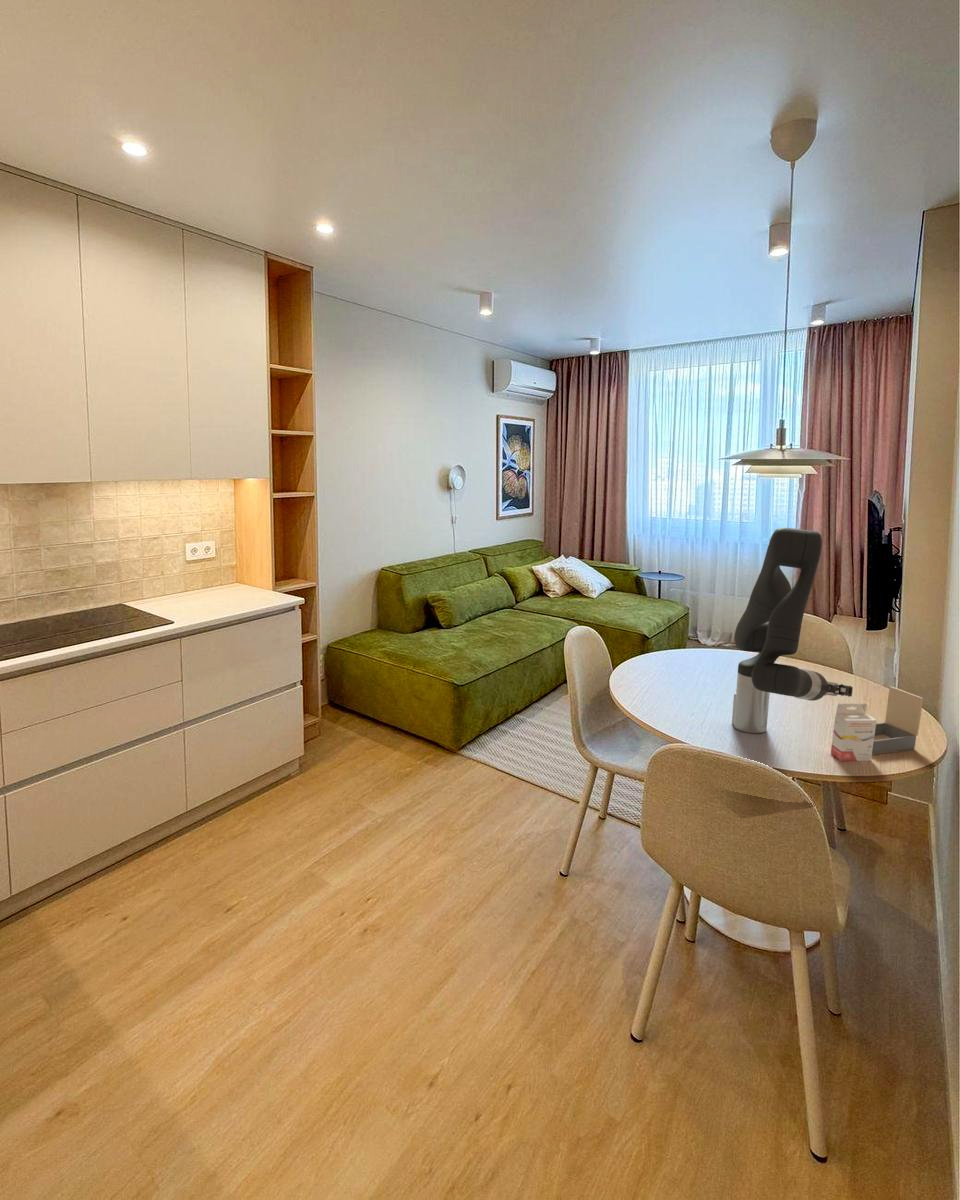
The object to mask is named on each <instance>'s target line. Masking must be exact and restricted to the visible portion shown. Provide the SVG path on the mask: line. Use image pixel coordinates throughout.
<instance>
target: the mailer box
mask: <svg viewBox="0 0 960 1200" xmlns="http://www.w3.org/2000/svg"><path fill="white" fill-rule="evenodd" d="M923 702H924V697H921V696H918V695H916V694H913V693H911V692H908V691H904V690H903V689H900V688H898V687H894V686H889V689H888V697H887V704H886V705H887V706H886V713H885V722H876V728H875V735H874V742H873V749H872V755H873V756H875V755H876V756H877V755H884V754H891V753H899V752H904V751H912V750H913V751H914V750H915V747H916V741H917V740H916V739H917V737H918V736H919V730H920V726H921V725H920V723H921V719H922V718H921V717H922V708H923Z"/></svg>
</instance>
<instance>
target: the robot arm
mask: <svg viewBox="0 0 960 1200" xmlns="http://www.w3.org/2000/svg"><path fill="white" fill-rule="evenodd" d="M822 547H823V539H822V535H821V533H820V532H818V531H815V530H809V529H800V528H791V527H778V528H776V529H775V530H774V531H773V533H772V534H771V537H770V539H769V542H768V546H767V549H766V552H765V556H764V559H763V560H764V561H763V563H762V567H761V569H760V572H759V574H758V576H757V580H756V582H755V584H754V586H753V588H752V591H751V594H750V597H749V600H748V602H747V606H746V609H745V610H744V612H743V614H742V615H741V617H740V619H739V621H738V623H737V625H736V628H735V631H734V637H733V638H734V644H735V647H736V648H737V649H738V650H739V651H742V652H750V653H751V652H753V653H756V652H757V654H756V655H755V656H752V657H750V658H746V659H743V660H741V661H740V662H739V663H738V666H737V675H736V676H737V679H736V689H735V693H734V694H733V703H732V705H733V706H732V715H731V716H732V717H731V724H733V727H734V728H735V729H736V730H738V731H741V732H744V733H748V734H762V733H763V734H764V733H766V732H767V729H768V718H769V704H770V695H771V694H775V695H782V696H787V697H793V698H796V699H799V700H804V701H805V700H806V701H810V702H811V701H817V700H820V699H822V698H823V697H824V696H830V697H837V696H838V695H839V696H841V697H844V696H847V697H849V698H850V697H853V690H854V689H853V686H851V685H845V684H842V683H841V684H839V683H838V682H834V681H833V682H832V681H828V680H827V679H826V678H825V677H824V675H822V674H821V673H819V672H817V671H813V670H810V669H805V668H799V667H797V666H794V665H789V664H783V663H775V662H776V661H777V659H778V658H779V657H781V656H790V655H791V656H792V655H795V654H796V653H797V652H798V648H799V643H800V642H799V641H800V637H801V631H802V630H801V629H802V623H803V620H804V619H803V618H804V614H805V611H806V610H805V609H806V607H807V603H808V600H809V596H810V593H811V589H812V588H813V587H812V586H813V583H814V580H815V576H816V573H817V569H818V565H819V561H820V558H821V553H822ZM781 567H787V568H795V569H800V573H799V575H798V578H797V580H796V582H795V584H794V585H793V587H792V586H791V583H790V582H789V580H788V578H787V576H786V575H785V573H784V572H783V570H782V569H781Z"/></svg>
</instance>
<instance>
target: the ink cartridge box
mask: <svg viewBox="0 0 960 1200" xmlns="http://www.w3.org/2000/svg"><path fill="white" fill-rule="evenodd" d="M867 706H868V704H867V703H866V702H865V703H859V702H858V703H855V702H854V703H852V702H851V703H838V704H837V707H836V713H835V716H834V723H833V730H832V737H831V738H832V741H831V748H830V754H831V755H832V756H833V757H835V758H836V759H837V760H839V761H840V762H853V761H854V762H859V761H860V762H867V761H868V762H870V761H872V749H873V742H874V735H875V728H876V724H877V719H875V718H874V717H872V716H871V715H869V714H867V713H866V712H867ZM851 707H852V708H855V709H850V708H851Z"/></svg>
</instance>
